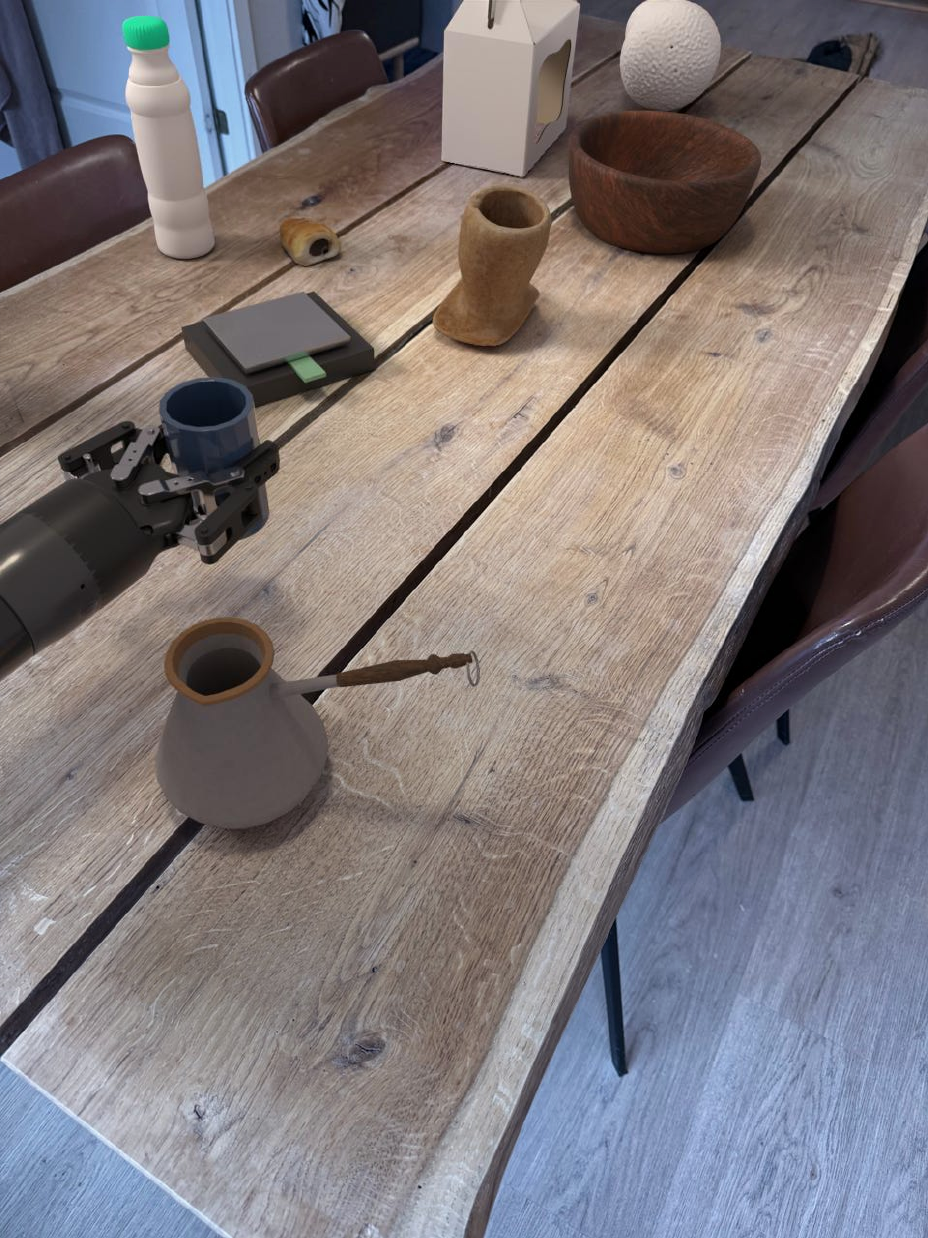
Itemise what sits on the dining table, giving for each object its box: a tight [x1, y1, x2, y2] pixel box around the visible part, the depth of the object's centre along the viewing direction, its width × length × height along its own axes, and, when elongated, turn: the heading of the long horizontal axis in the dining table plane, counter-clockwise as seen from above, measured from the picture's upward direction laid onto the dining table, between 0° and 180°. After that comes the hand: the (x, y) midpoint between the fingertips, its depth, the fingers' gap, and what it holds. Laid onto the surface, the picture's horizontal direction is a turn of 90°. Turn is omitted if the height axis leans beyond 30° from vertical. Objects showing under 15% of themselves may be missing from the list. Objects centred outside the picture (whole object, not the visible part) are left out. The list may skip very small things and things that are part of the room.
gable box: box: [440, 0, 581, 178], centre depth 132 cm, size 22×13×28 cm, turn 159°
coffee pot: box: [154, 616, 481, 830], centre depth 58 cm, size 21×12×15 cm, turn 85°
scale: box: [180, 291, 376, 408], centre depth 97 cm, size 16×16×3 cm
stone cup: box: [432, 183, 553, 347], centre depth 100 cm, size 15×12×15 cm
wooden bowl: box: [567, 110, 762, 255], centre depth 122 cm, size 25×25×10 cm
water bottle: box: [121, 15, 215, 260], centre depth 106 cm, size 7×7×25 cm
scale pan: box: [201, 291, 351, 374], centre depth 96 cm, size 12×11×1 cm
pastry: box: [278, 217, 342, 267], centre depth 115 cm, size 9×7×4 cm
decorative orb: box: [619, 0, 722, 112], centre depth 150 cm, size 20×18×16 cm
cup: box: [158, 376, 271, 542], centre depth 65 cm, size 6×6×10 cm
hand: (238, 434), depth 65 cm, fingers closed on cup, 6 cm apart
